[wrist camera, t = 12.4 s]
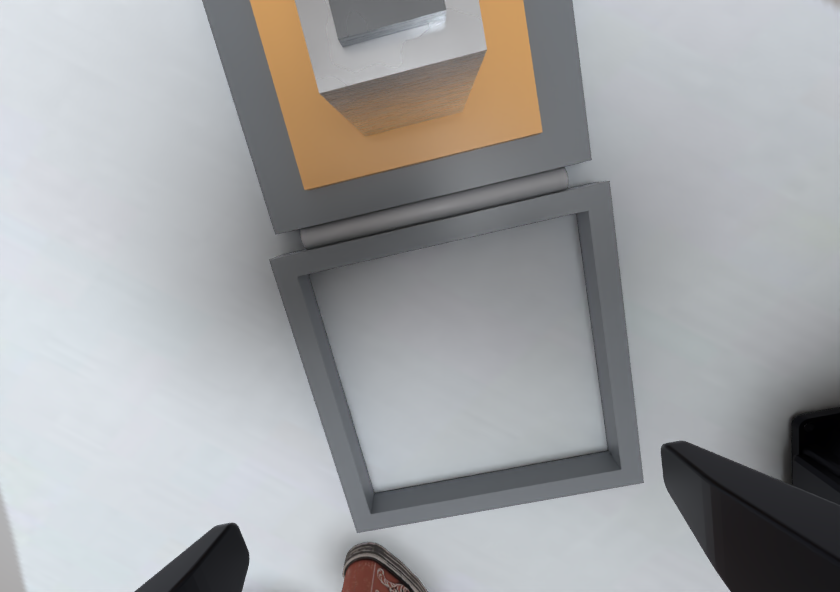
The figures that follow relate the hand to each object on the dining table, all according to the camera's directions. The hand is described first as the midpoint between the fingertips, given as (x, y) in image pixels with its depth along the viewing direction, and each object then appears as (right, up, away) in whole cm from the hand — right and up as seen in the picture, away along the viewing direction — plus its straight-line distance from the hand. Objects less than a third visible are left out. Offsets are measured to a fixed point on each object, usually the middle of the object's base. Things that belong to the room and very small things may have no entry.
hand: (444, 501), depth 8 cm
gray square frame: (+2, +1, +12) cm, 12 cm away
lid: (-1, +14, +9) cm, 17 cm away
